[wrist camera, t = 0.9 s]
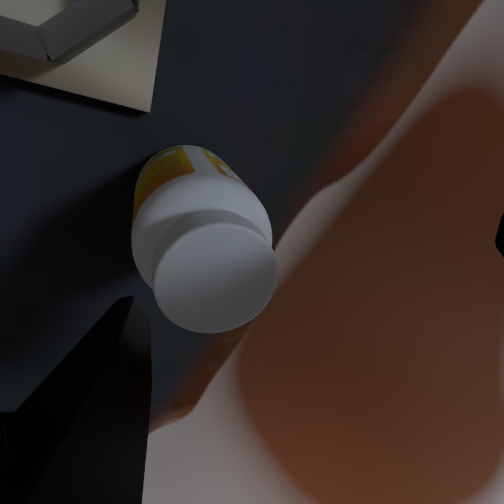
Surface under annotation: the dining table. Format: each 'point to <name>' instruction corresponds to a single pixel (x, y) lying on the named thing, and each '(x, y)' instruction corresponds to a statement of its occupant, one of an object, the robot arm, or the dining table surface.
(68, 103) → the dining table surface
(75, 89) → the collar
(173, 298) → the supplement bottle
